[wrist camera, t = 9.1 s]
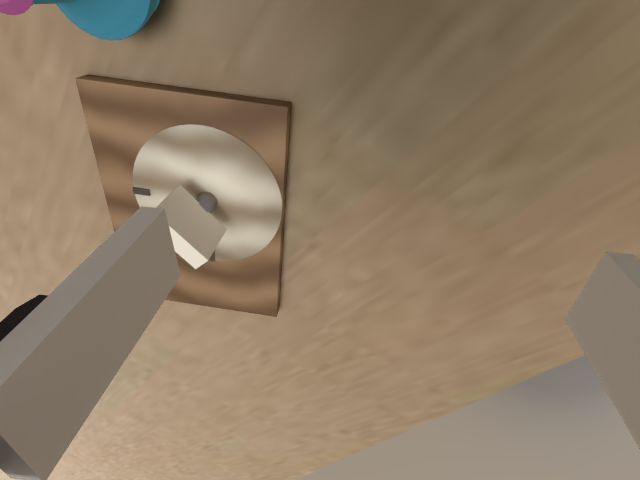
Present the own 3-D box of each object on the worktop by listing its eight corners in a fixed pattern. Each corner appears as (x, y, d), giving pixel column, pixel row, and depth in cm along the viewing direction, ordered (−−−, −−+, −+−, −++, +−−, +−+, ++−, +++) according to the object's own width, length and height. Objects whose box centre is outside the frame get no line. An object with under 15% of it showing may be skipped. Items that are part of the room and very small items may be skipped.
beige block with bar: (138, 219, 46) (96, 261, 39) (191, 172, 42) (154, 210, 34) (181, 256, 49) (149, 302, 42) (235, 216, 44) (209, 259, 37)
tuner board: (87, 74, 39) (72, 78, 37) (291, 102, 38) (287, 108, 36) (137, 285, 56) (129, 296, 54) (279, 307, 55) (276, 318, 53)
